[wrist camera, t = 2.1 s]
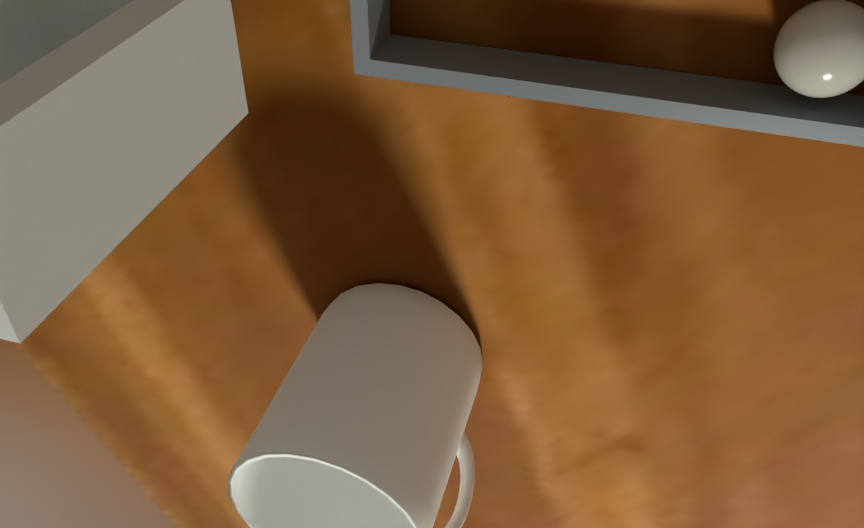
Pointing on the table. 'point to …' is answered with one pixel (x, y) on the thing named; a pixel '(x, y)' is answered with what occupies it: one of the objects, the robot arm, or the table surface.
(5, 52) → the teacup
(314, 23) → the table surface
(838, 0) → the white round ball
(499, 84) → the tray
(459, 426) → the mug
